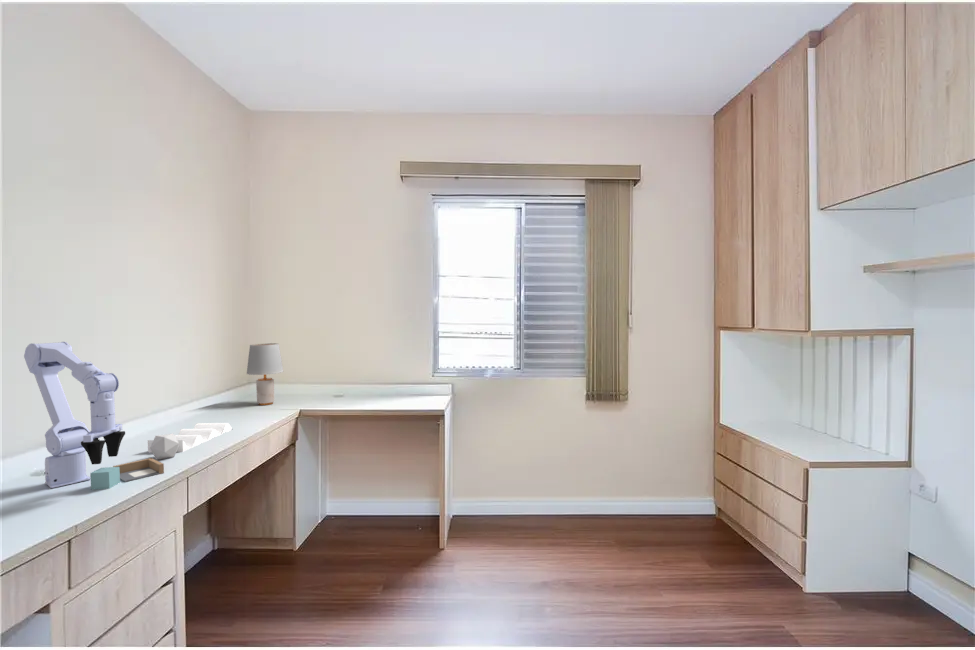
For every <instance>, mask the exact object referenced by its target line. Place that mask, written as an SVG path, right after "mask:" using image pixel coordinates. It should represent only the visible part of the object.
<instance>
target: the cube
mask: <svg viewBox="0 0 975 650" xmlns="http://www.w3.org/2000/svg"><path fill="white" fill-rule="evenodd" d="M89 477H90V478H91V479H90V490H107V489H111V488H113V487H114V486H117V485H118V483H119V484H120V483H121V480H120V469H119V467H113V466H110V467H108V466H107V467H106V466H105V467H100V468H98V469H96V470H94V471H91V472H90V476H89Z"/></svg>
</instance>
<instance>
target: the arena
mask: <svg viewBox="0 0 975 650" xmlns="http://www.w3.org/2000/svg"><path fill="white" fill-rule="evenodd" d="M164 465H165V464H164V463H163V462H160V461H159V460H156V459H155V458H152V457H148V458H145V459H140V460H134V461H131V462H125V463H121V464H117V465H113V466H112V467H119V469H120V481H122V482H124V483H128V482H132V481H135V480H139V479H140V480H141V479H144V478H149V477H153V476H158V475H162V474H164V473H165V469H164V467H165V466H164Z"/></svg>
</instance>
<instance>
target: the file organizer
mask: <svg viewBox="0 0 975 650" xmlns="http://www.w3.org/2000/svg"><path fill="white" fill-rule="evenodd" d="M232 430H233V428H232V426H231V424H230V423H229V422H209V423H208V422H206V423H205V422H203V423H202V422H201V423H196V424H195V425H194V428H182V429H180V431H179V433H178V434H174V436H175V437H176V439H177V441H178V443H179V447H178V449H177V451H176V453H183V452H186V451H188V450H190V449H193V448H195V447H197V446H199V445H201V443H202V444H204V443H206V442H208V441H210V440H212V438H213V439H214V437H215V438H217V437H219V436H221V435H223V433H224V434H225V432H226V433H228V432H230V431H232ZM153 440H154V439H151V440H150V439H149V440H147V452H148V453H152V451H151V449H150V447H151V444H152V442H153Z"/></svg>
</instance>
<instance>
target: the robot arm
mask: <svg viewBox="0 0 975 650" xmlns="http://www.w3.org/2000/svg"><path fill="white" fill-rule="evenodd" d="M73 352H74V351H73V347H72V344H69V343H68V342H67V341H61V342H60V341H59V342H43V343H41V342H40V343H35V342H33V343H29V344H28V345H27V346H26V347H25V350H24V355H23V359H24V361H25V363H26V366H27V369H28V371H29V373H31V374H32V375H34V378H35V381H36V383H37V386H38V389H39V391H40V394H41V397H42V399H43V402H44V405H45V408H46V411H47V412H48V416H49V419H50V421H51V424H52V425H51V426H50V428H48V430H46V432H45V434H44V437H45V447H46V450H47V452H48V453H49V454H51V455H50V456H46V457H45V459H44V472H45V473H44V478H45V479H44V480H45V482H44V484H46V486H48V487H49V488H51V489H55V488H58V487H64V486H68V485H72V484H73V485H74V484H77V483H81V482H85V481H89V480H90V481H91V477H90V476H89V475H88V474H87V462H86V461H87V459H86V458H87V457H86V456H88V458H89V460H90V463H91V465H100V464H102V460H103V459H102V458H103V450H104V447H105V445H106V452H107V456H108V458H109V457H111V458H112V457H118V454H119V450H120V446H121V443H122V441H123V439H124V436H125V435H126V431H125V430H123V424H122V423H116V405H115V404H116V403H115V392H117V391H118V389H119V385H120V383H119V378H118V377H117V376H116V374H115V373H113V372H111V373H110V372H109V373H108V372H104V371H102V369H100V368H99V367H97V366H96V365H94V363H93V362H91V361H82V360H81V358H79V357H78V356H77V355H76V354H75V353H73ZM65 367H66V368H67V369H69V370H70V371H71V376H72V377H73V378H74V379H75V380H76V381H78V382H80V383H81V384H82V385H83V388H84V391H85V393H86V395H87V401H89V407H90V429H91V430H90V429H88V427H87V424H86V423H85V422H83V421H81V420H78V419H76V418H75V417H74V415H73V412H72V410H71V407H70V404H69V401H68V400H67V396H66V394H65V390H64V388H63V385H62V383H61V381H60V378H59V374H58V373H59V372H61V371H63V370H64V369H65ZM102 437H103V439H101V438H102ZM86 453H87V455H86Z"/></svg>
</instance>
